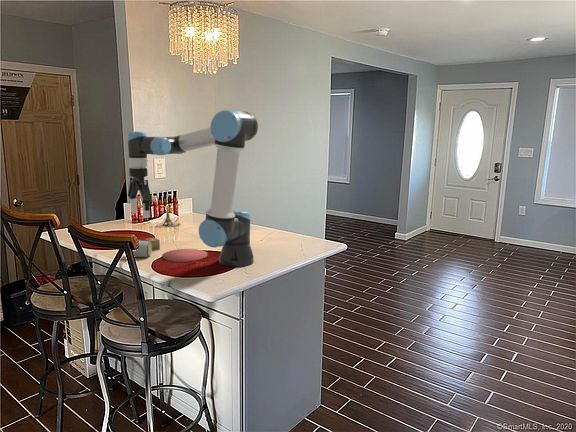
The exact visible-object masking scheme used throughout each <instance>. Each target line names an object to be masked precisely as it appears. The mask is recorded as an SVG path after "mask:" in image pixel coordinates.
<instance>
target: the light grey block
mask: <svg viewBox="0 0 576 432" xmlns="http://www.w3.org/2000/svg"><path fill="white" fill-rule="evenodd" d="M138 241H139V248H138V250H136V251H133V254H134V256H135V257H134V258H149V257H151V255H152V252H153V251H152V244H151V242H148V241H145V240H138Z"/></svg>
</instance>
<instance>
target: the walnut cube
mask: <svg viewBox="0 0 576 432" xmlns="http://www.w3.org/2000/svg"><path fill="white" fill-rule="evenodd" d="M144 241H148V242H151V244H152V252H155V251H160V250H161V249H160V248H161V245H160V239H158V238H157V237H153V238H152V237H150V238H145V239H144Z"/></svg>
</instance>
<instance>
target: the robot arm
mask: <svg viewBox="0 0 576 432" xmlns="http://www.w3.org/2000/svg"><path fill="white" fill-rule="evenodd" d="M258 130H259V123H258V120H257V118H256V117H255V116H254V114H252V113H250V112H248V111H241V110H234V109H224V110H221V111H218V112H217V113H216V114H215V115H213V117H212V119H211V122H210V126H209V127H206V128H203V129H198V130H195V131H191V132H187V133H183V134H180V135H175V136H147V133H146V132H145V131H129V132H128V134H127V147H128V148H127V149H128V167H129V170H128V173H129V185H128V192H127V197H129V199H130V200H129V201H130V202H129V203H130V204H129V205H130V214H137V213H138V204H137V203H138V201H137V200H138V199H137V198H138V196H137V195H138V192H139V193H140V196H141V199H142V218H143V219H147V218H148V219H149V218H151V214H150V213H151V210H150V203H152V202H153V200H152V195H151V191H150V187H149V180H148V179H145V177H148V168H147V167H148V162H149V160H148V155H152V156H153V155H154V156H155V155H156V156H166V155H181V154H186V153H187V152H190V151H192V150H193V151H194V150H197V149H202V148H206V147H210V146H214V145H215V147H216V148H217V151H216V152H217V153H216V160H215V169H214V176H213V177H214V178H213V186H212V194H211V204H210V207H209V208H208V209H207V210H206V211H205V219H204V220H203V221H202V222H200V224H199V225H198V226H199V227H198V234H199V239H200V240H201V241H202V242H203V244H205V245H206V246H207V247H209V248H218V247H219V248H220V247H222V248H221V251H220V254H219V257H218V263H219V264H220V265H223V266H226V267H236V268H237V267H245V266H246V267H247V266H250V265H253V263H254V262H255V261H254V260H255V257H254V254H253V250H252V248H251V247H252V246H251V213H250V212H249V211H247V210H240V209H239V210H238V209H233V207H234V198H235V191H236V185H237V176H238V168H239V162H240V161H239V160H240V153H241V152H242V151H243V150H244V149H245V147H246V146H245V145H246V142H248V141H250V140H252V139H254V138H255V137H256V135H257V134H258Z"/></svg>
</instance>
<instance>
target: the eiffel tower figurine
mask: <svg viewBox="0 0 576 432" xmlns="http://www.w3.org/2000/svg"><path fill="white" fill-rule="evenodd" d="M180 225H181V223H180V222H179V223H178V224H174V223H173V221H172V220H171V218H170V213H169V206H168V205H166V217H165V220H164V222H163V223H162V225H161V227H165V228H176V227H180Z"/></svg>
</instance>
